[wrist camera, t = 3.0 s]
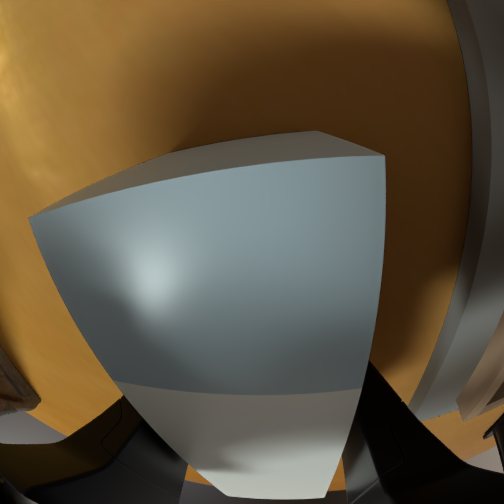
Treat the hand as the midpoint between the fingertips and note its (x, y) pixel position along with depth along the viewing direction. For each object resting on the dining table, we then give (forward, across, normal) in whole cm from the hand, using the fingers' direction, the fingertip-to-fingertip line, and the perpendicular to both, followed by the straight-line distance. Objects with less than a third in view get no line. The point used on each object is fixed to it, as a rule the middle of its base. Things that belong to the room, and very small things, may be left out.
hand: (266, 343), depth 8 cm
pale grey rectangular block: (+1, 0, 0) cm, 1 cm away
